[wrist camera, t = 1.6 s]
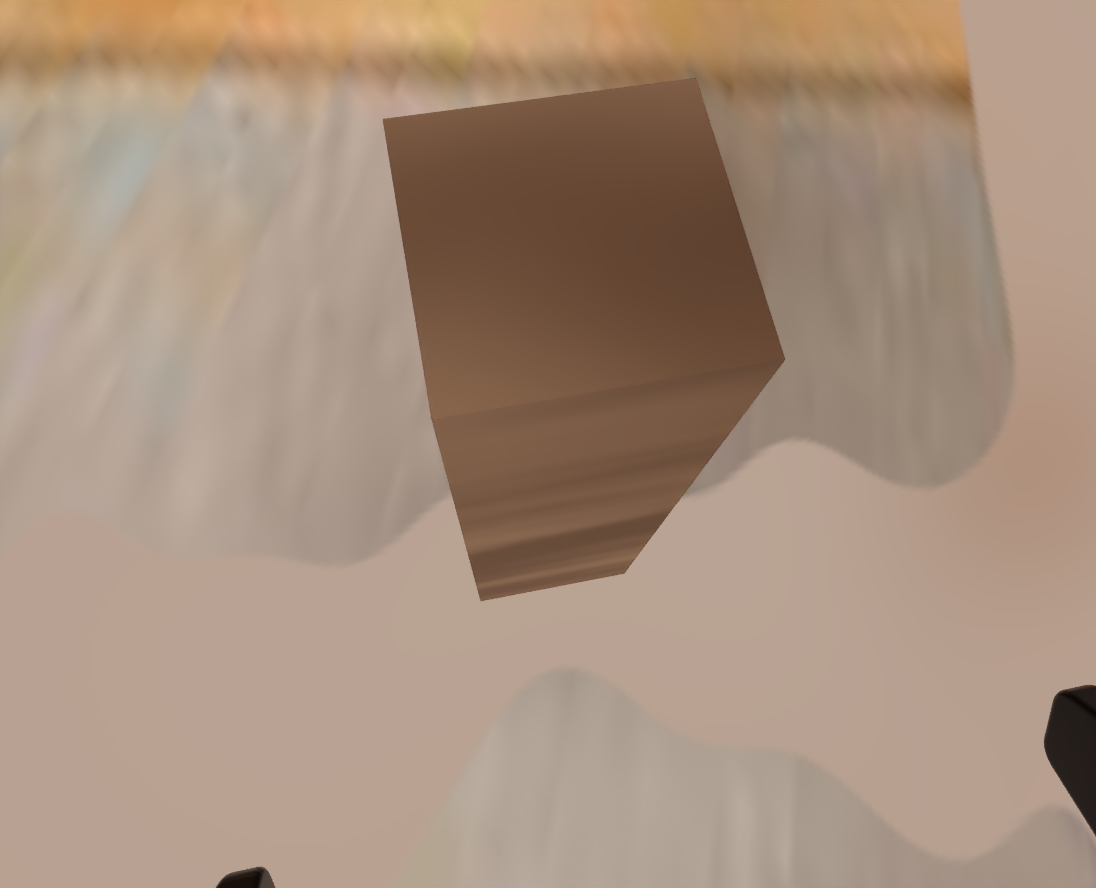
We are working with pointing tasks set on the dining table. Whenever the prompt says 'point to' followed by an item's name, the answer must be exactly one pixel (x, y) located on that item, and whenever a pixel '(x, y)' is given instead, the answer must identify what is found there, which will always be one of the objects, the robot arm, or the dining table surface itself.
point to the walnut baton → (576, 319)
